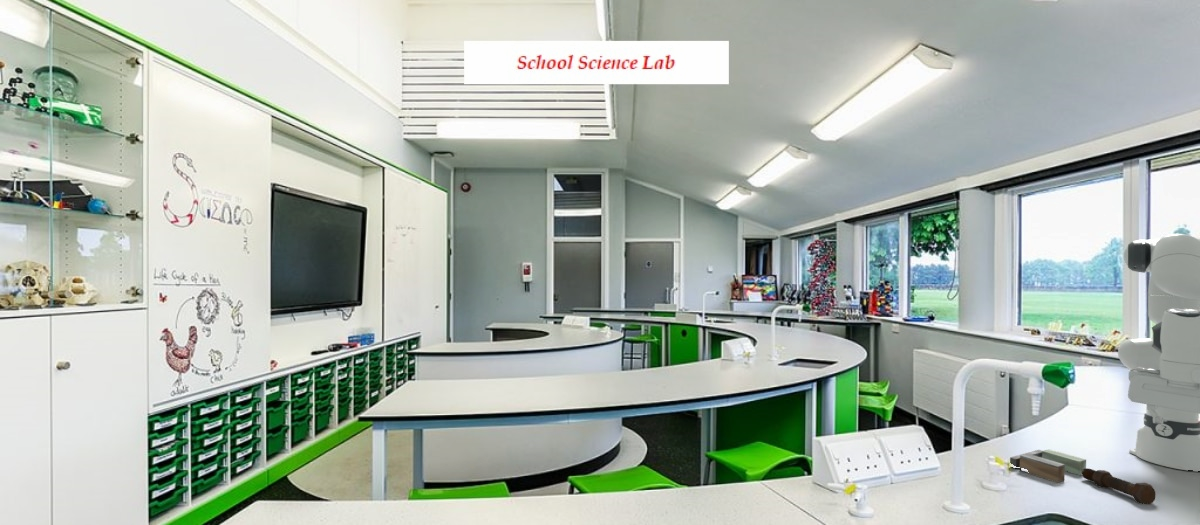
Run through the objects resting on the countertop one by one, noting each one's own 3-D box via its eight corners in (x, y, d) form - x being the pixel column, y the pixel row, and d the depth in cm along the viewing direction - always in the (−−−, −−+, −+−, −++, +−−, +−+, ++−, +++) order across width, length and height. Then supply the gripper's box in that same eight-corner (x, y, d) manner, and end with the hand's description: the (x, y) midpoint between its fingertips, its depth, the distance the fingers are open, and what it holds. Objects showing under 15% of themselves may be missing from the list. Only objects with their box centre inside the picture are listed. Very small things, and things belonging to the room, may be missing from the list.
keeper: (1038, 459, 161) (1039, 444, 161) (1085, 473, 151) (1086, 457, 151) (1009, 467, 154) (1010, 452, 154) (1057, 482, 143) (1057, 466, 143)
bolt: (1088, 486, 146) (1150, 509, 131) (1074, 477, 146) (1135, 500, 131) (1096, 468, 147) (1159, 489, 132) (1083, 459, 146) (1144, 480, 132)
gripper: (1123, 366, 136) (1122, 418, 136) (1244, 382, 118) (1243, 443, 117) (1133, 365, 139) (1133, 416, 138) (1253, 381, 120) (1252, 440, 120)
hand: (1184, 428), depth 128 cm, fingers open, 8 cm apart
